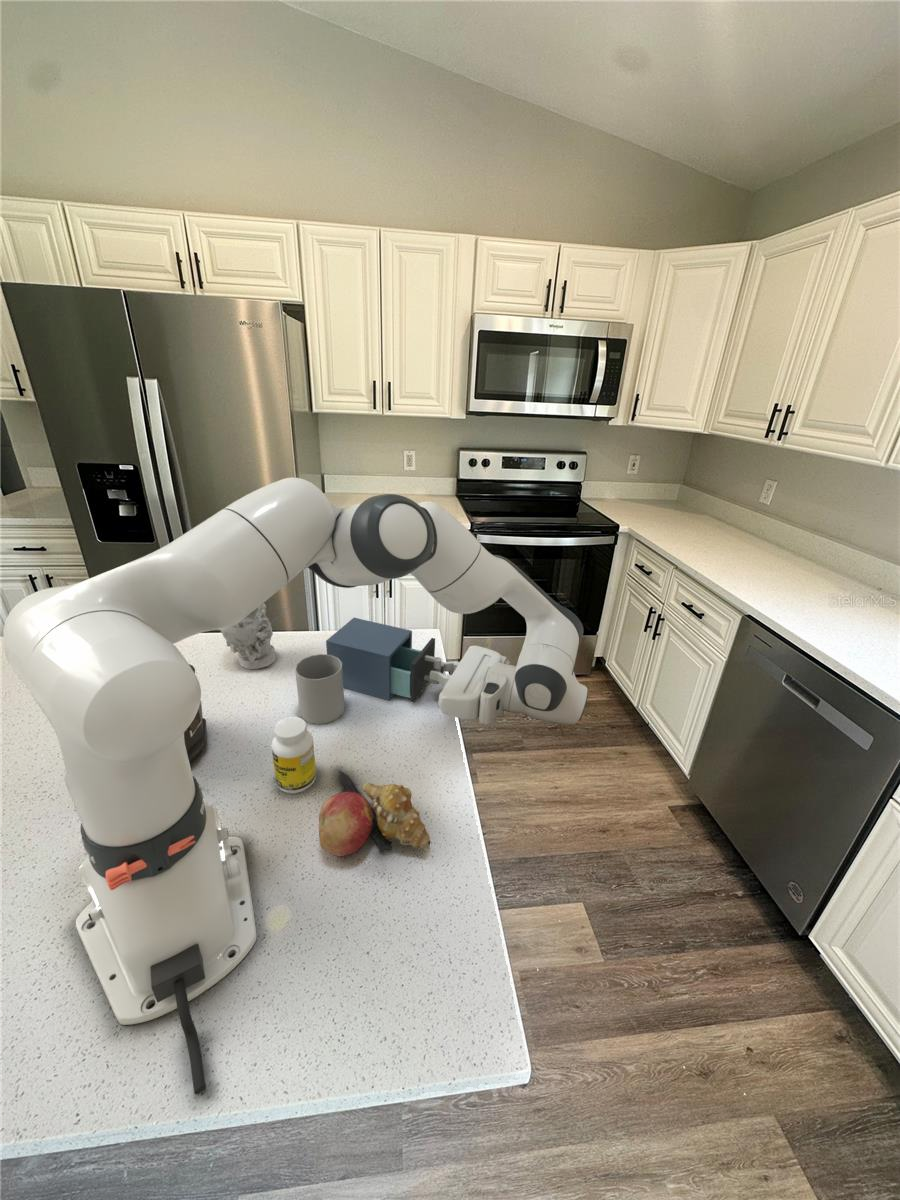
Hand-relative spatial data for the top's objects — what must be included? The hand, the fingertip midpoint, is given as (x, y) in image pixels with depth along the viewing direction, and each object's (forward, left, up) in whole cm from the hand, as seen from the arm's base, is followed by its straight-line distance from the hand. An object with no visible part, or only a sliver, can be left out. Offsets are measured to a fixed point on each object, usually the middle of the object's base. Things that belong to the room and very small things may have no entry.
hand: (433, 669), depth 98 cm
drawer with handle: (+6, +4, -5) cm, 9 cm away
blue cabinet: (+12, +8, -6) cm, 15 cm away
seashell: (-19, +27, -5) cm, 33 cm away
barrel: (+13, +49, -6) cm, 51 cm away
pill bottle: (-6, +32, -6) cm, 33 cm away
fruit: (-16, +29, -2) cm, 33 cm away
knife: (-17, +26, -6) cm, 32 cm away
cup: (+8, +21, -6) cm, 23 cm away
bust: (+36, +17, -7) cm, 41 cm away
